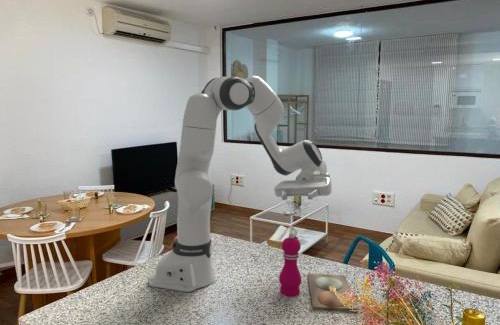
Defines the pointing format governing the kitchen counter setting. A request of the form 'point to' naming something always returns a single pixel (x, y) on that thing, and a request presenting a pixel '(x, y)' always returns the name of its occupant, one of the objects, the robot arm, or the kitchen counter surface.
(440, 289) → the kitchen counter surface
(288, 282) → the pepper mill
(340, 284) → the colour board
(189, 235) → the robot arm
